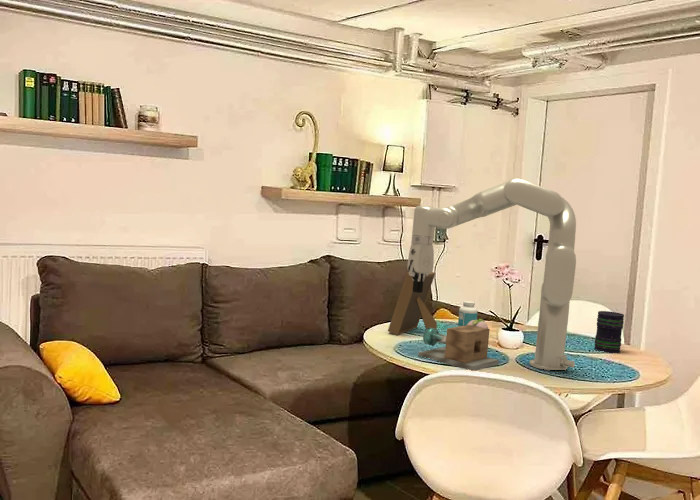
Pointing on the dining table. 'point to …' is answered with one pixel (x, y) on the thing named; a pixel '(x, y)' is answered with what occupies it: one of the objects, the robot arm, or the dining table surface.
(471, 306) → the pill bottle
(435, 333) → the shaft
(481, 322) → the decorative fruit
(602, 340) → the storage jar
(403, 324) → the photo frame
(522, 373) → the dining table surface
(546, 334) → the robot arm
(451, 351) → the bearing block
